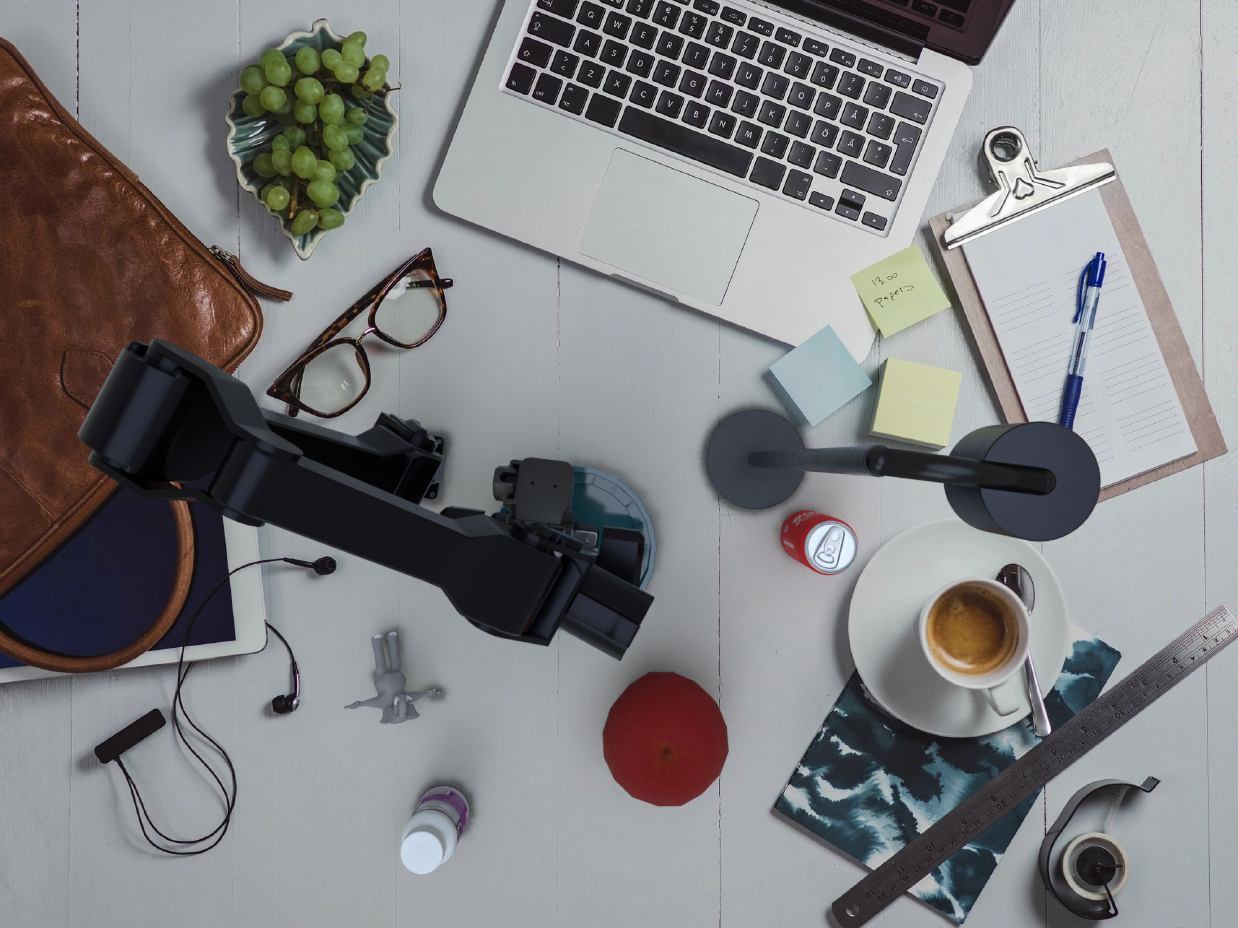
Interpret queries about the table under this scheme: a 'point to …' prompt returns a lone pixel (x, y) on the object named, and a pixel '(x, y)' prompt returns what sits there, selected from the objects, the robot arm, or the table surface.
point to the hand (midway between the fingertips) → (549, 542)
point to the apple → (665, 739)
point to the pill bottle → (434, 829)
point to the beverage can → (819, 542)
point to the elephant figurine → (391, 685)
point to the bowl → (612, 510)
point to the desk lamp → (924, 471)
